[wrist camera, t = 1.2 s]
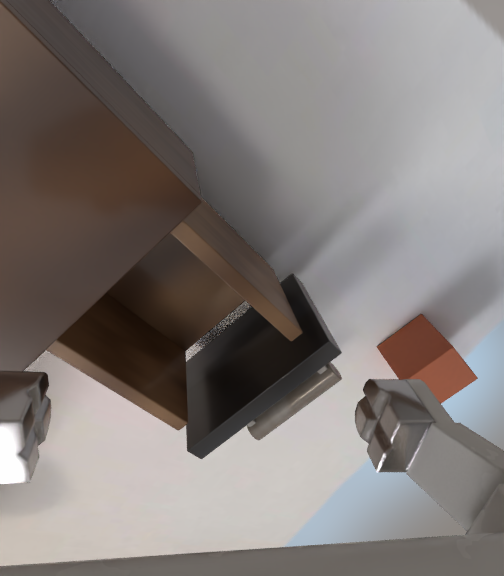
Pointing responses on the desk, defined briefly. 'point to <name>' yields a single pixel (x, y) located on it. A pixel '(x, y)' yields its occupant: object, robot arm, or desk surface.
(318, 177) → the desk surface
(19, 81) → the cabinet
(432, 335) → the block
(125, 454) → the desk surface
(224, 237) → the drawer
